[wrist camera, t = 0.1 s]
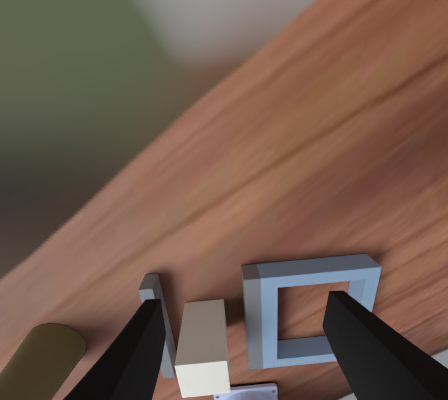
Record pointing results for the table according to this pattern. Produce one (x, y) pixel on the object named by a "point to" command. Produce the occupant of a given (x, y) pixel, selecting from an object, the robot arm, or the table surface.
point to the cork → (41, 363)
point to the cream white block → (203, 350)
